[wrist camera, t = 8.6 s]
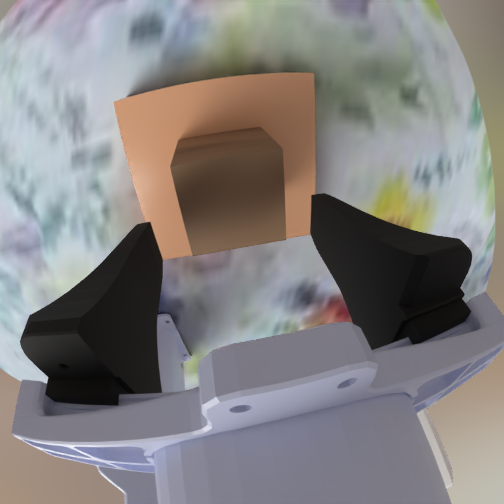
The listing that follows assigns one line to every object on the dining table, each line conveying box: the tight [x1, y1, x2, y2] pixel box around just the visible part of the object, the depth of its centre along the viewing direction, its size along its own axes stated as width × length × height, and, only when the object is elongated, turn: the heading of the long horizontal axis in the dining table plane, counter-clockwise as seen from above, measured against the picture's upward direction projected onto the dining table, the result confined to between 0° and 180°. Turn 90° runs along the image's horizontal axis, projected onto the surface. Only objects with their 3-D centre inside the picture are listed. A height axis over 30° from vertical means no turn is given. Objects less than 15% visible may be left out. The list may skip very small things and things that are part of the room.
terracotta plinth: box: [114, 72, 316, 260], centre depth 18 cm, size 12×12×3 cm
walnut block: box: [170, 127, 286, 256], centre depth 15 cm, size 5×5×5 cm
